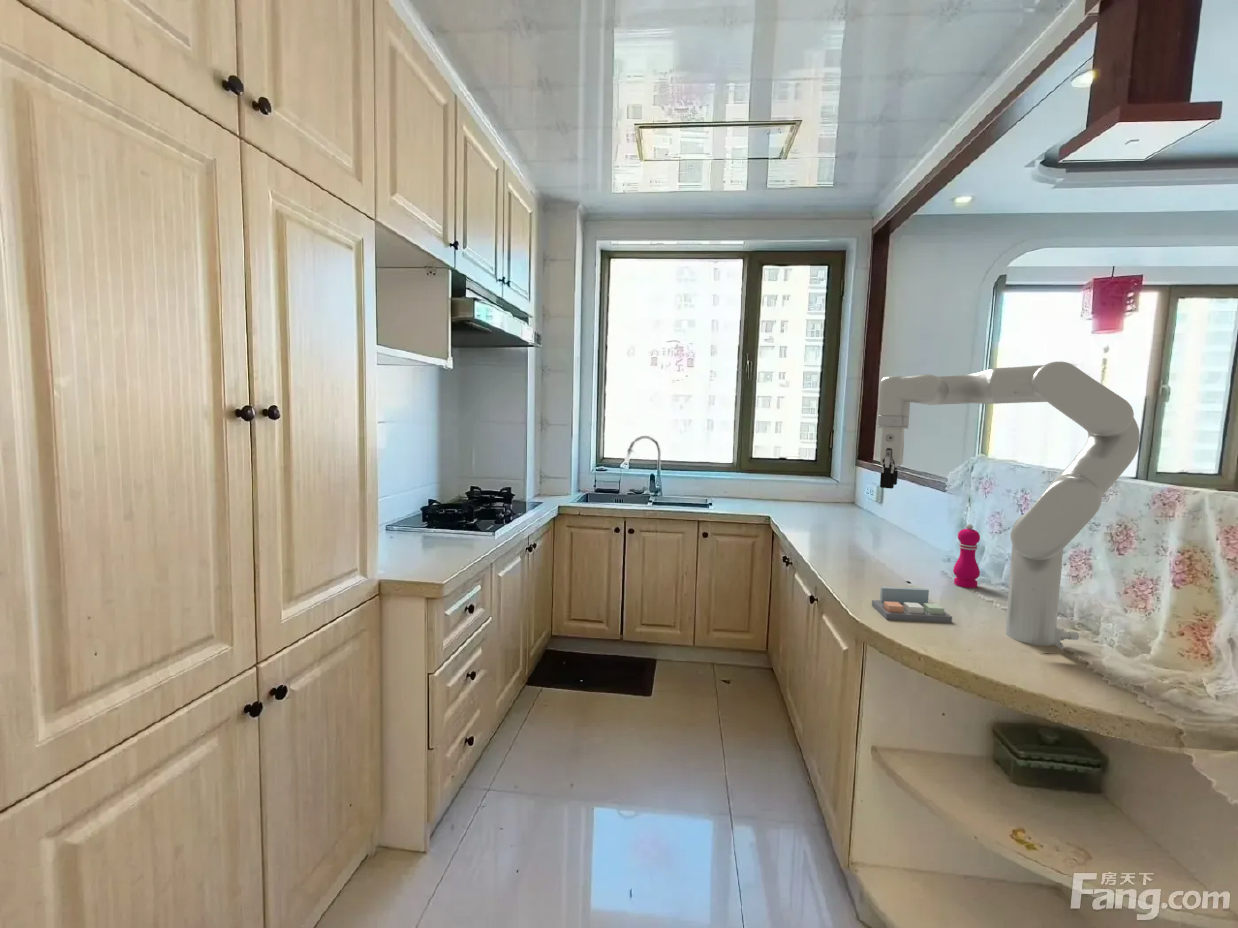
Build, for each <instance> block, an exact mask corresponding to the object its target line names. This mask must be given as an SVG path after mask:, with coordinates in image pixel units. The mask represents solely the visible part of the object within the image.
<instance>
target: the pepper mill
mask: <svg viewBox="0 0 1238 928" xmlns="http://www.w3.org/2000/svg"><path fill="white" fill-rule="evenodd" d="M965 527H966V528H963V529H961V530H960V531H958V533H957V539H958V541H959V543H958V547H959V549H960V551H959V557H958V559H957V560H956V562H955V564H954V567H953V568H952V569H953V570H952V571H953V574H954V576H956V577H954V581H953V582H954V585H956V586H957V587H961V588H966V589H976V588H977V587H978V580H977V579H978V578H979V577H980V575H981V572H980V567H979V565H978V562H977V560H976V551H977V550H978V543H980V541H981V535H980V534H979V532H978V531H977V530H975V529H973V528H974V527H973V525H972V524H971V523H968V524H966V525H965Z"/></svg>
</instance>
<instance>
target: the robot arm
mask: <svg viewBox="0 0 1238 928" xmlns="http://www.w3.org/2000/svg"><path fill="white" fill-rule="evenodd" d="M878 394H879V396H878V397H879V398H878V410H877V423H876V425H877V429H881V434H880V448H879V449H880V452H879V453H880V455H879V457H880V458H879V460H880V462H879V463H880V464H881V465H882V466H881V472H880V480H879V481H880V482H879V487H880V488H881V489H893V488H895V487H894V486H895V485H897V484H898V476H899V475H898V472H899V471H898V467H900V466H901V465H903V463H904V445H905V444H904V443H905V430H907V429H908V430H909V425H910V424H909V422H910V410H911V403H914V404H920V405H921V404H922V405H928V406H934V405H936V406H938V405H939V406H940V405H961V404H981V405H988V404H989V405H996V404H998V405H999V404H1000V405H1001V404H1023V403H1025V404H1026V403H1048V404H1049V405H1051V406H1052V407H1054V408H1055V409H1056V410H1057V411H1059V412H1061V413H1062V414H1063V415H1065V416H1066V417H1067V418H1069V419H1070V420H1072V421H1073V422H1075V423H1076V424H1078V426H1080V427H1081V428H1082V429H1085V431H1087V436H1088V437H1087V441H1086V443H1085V445H1084V446H1083V448H1081V450H1080V451H1079V452H1078V454H1077V455H1075V458H1074V459H1073V460H1072V461H1071V462H1070V463H1069V464H1068V465H1067V466H1066V468H1065V469H1064V470H1063V471H1062V472H1061V473H1060V474H1059V475H1058V476H1057V477H1056V478H1055V479H1054V480H1052V481H1051V482H1050V483H1049V484H1048V485H1047V487H1046V489H1045V491H1043V492H1042V494H1041V495H1040V496H1039V498H1038V499H1037V500H1036V501H1035V502H1034V504H1032V506H1030V508H1029V509H1028V510H1027V511H1026V512H1025V513H1024V514H1022V515H1020V516H1019V517H1018V518H1017V519H1016V520H1015V522H1014V524H1013V525H1012V528H1011V532H1010V542H1011V544H1012V545H1011V554H1010V555H1011V556H1010V567H1009V578H1008V579H1009V582H1008V590H1007V591H1008V593H1007V608H1006V620H1005V633H1004V634H1005V635H1006V636H1007V637H1008V638H1011V639H1013V640H1015V641H1017V642H1020V643H1023V644H1024V643H1025V644H1029V645H1034V646H1041V647H1042V646H1044V647H1047V646H1048V647H1050V646H1056V647H1057V648H1059V649H1060V650H1062V651H1063V650H1064V644H1063V643H1062V642H1061V641H1064V640H1070V641H1071V640H1072V641H1078V640H1079V639H1080V636H1079V633H1078V632H1077V631H1073V630H1072V631H1071V630H1066V631H1065V629H1064V628H1060V627H1057V625H1058V612H1059V601H1060V600H1059V599H1060V590H1061V589H1060V588H1061V582H1062V581H1061V579H1062V569H1063V567H1062V566H1063V556H1064V549H1065V548H1066V546H1068V545H1069V543H1070V542H1072V540H1073V539H1075V537H1076V536H1077V535H1078V534H1079V533H1080V532H1081V531H1082V530H1083V529H1084V527H1086V526H1087V525H1088V524H1089V522H1090V521H1091V520H1092V519H1093V518H1094V517H1095V515H1096V514H1097V513H1098V512H1099V510H1100V509H1101V508H1100V507H1101V505H1102V497H1103V496H1104V495H1105V494H1106V493H1107V491H1108V490H1109V489H1110V488H1111V487H1112V486H1113V485H1114V484H1115V483H1116V481H1117V480H1118V479H1119V478H1120V477H1121V475H1122V474H1123V473H1124V472H1125V471H1126V470H1127V468H1128V467H1129V466H1130V465H1131V464H1132V462H1133V460H1134V458H1135V457H1136V455H1137V453H1138V450H1139V447H1140V439H1141V438H1140V429H1139V425H1138V423H1137V421H1136V419H1135V417H1134V415H1135V413H1134V409H1133V407H1132V404H1130V403H1129V402H1128V401H1127V400H1126V399H1124V398H1123V397H1122V396H1120V395H1118V394H1117V393H1115V391H1112V390H1111V389H1110V388H1108V387H1106V386H1105V385H1103V384H1102V383H1101V382H1099V381H1097V380H1096V379H1094V378H1093V377H1091V376H1090V375H1089V374H1087V373H1086V372H1084V371H1083V370H1082V369H1080V368H1078V367H1077V366H1075V365H1074V364H1073V363H1069V362H1066V361H1062V360H1061V361H1051V362H1048V363H1046V364H1042V365H1041V364H1039V365H1027V366H1011V367H1010V366H1009V367H994V368H989V369H984V370H982V371H980V372H976V373H969V374H961V375H943V376H937V375H933V374H928V373H927V374H925V373H924V374H919V375H918V374H916V375H911V376H903V375H902V376H901V375H895V376H894V375H891V376H889V375H888V376H884V377H883V378H882V379H881V380H880V384H879V393H878ZM1044 654H1046V655H1047V654H1048V655H1049V654H1051V655H1053V653H1050V652H1049V653H1048V652H1044Z"/></svg>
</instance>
